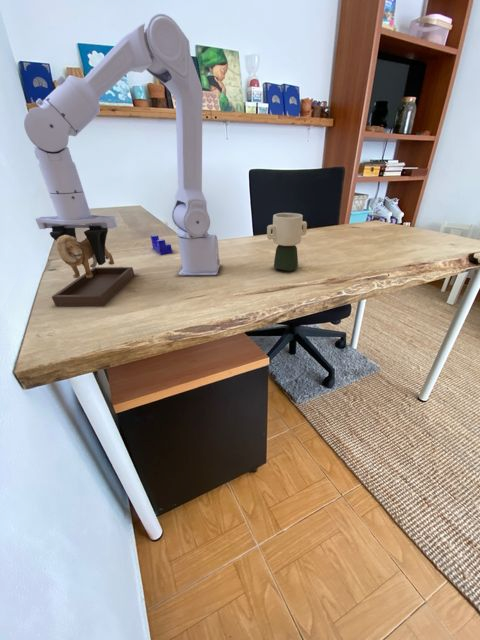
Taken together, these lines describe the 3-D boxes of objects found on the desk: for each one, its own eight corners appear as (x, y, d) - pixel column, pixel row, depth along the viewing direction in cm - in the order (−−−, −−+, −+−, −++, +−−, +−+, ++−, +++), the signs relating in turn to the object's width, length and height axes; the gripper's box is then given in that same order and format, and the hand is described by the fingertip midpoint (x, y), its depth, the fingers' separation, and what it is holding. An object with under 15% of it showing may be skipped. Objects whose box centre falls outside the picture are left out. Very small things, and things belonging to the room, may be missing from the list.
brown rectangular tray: (134, 275, 73) (132, 267, 72) (103, 306, 59) (99, 296, 58) (96, 275, 73) (93, 267, 72) (55, 306, 59) (51, 296, 58)
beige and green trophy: (296, 262, 81) (299, 211, 74) (310, 269, 76) (315, 215, 69) (261, 267, 78) (260, 214, 70) (273, 276, 72) (274, 219, 65)
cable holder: (172, 253, 89) (169, 239, 87) (160, 254, 88) (158, 241, 85) (163, 247, 95) (161, 234, 92) (153, 248, 93) (150, 235, 91)
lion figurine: (88, 285, 58) (73, 238, 53) (61, 284, 58) (43, 237, 53) (119, 260, 70) (108, 220, 65) (96, 260, 70) (84, 219, 65)
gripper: (113, 189, 59) (131, 257, 66) (40, 190, 58) (66, 258, 66) (98, 193, 53) (119, 268, 60) (16, 194, 53) (48, 268, 60)
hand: (90, 263), depth 63 cm, fingers closed on lion figurine, 4 cm apart
